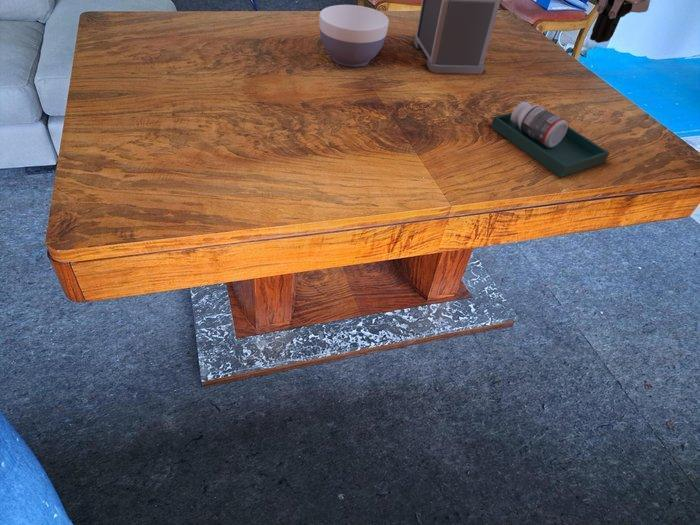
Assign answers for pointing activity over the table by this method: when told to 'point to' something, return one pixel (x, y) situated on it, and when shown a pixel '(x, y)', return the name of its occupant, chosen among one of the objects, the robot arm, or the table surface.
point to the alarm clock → (456, 34)
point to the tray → (554, 148)
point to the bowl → (352, 33)
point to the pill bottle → (539, 124)
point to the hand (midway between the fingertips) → (599, 40)
